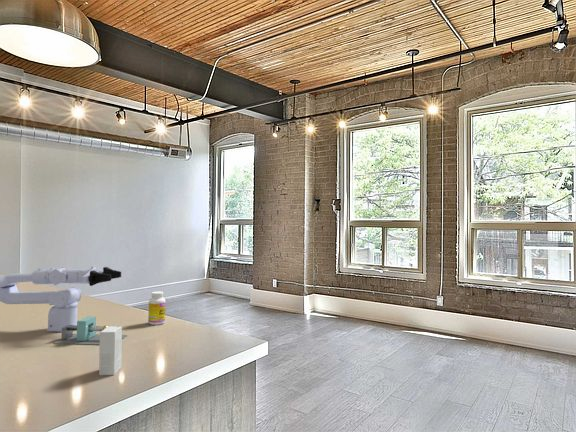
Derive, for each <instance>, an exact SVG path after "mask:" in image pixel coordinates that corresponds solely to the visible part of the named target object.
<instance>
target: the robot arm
mask: <svg viewBox="0 0 576 432" xmlns="http://www.w3.org/2000/svg"><path fill="white" fill-rule="evenodd" d="M119 278H122V271H119V270H116V269H112V268H110V267H108V266H104V267H103V268H102V270H101V269H98V268H97V266H96V265H91V268H67V267H61V268H55V267H50V268H49V269H48V268H46V269H44V267H39V268H37V269H35V270H34V271H33V272H32V273H31V272H30V273H29V272H27V273H25V272H24V273H20V272H19V273H10V274H4V275H0V302H1V303H3V304H5V305H43V304H45V305H49V306H51V307H50V309H49V311H48V314H47V329H46V332H61V333H62V328H63V327H65V326H67V325H77V321H78V305H79V302H80V301H81V299H82V295H83V293H82V291H81V289H80V288H79V287H76V286H72V287H69V288H66V289H60V290H59V289H58V290H37V291H36V290H34V291H33V290H31V291H30V290H29V291H28V290H26V291H19V289H18V286H17V284H18V283H29V282H32V283H33V284H34V285H51V284H53V285H54V286H56V285H57V286H58V285H59V284H85V285H87V284H88V285H89V286H90V287H93V286H94V285H97V284H101V283H106V282H111V281H112V280H113V279H119Z"/></svg>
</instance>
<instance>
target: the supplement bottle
mask: <svg viewBox="0 0 576 432" xmlns="http://www.w3.org/2000/svg"><path fill="white" fill-rule="evenodd" d="M147 317H148V319H147V320H148V325H151V326H160V325H163V324H164V323H166V299H165V298H164V292H163V291H160V290H159V291H152V292H151V297H150V299H149V300H148V316H147Z"/></svg>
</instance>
